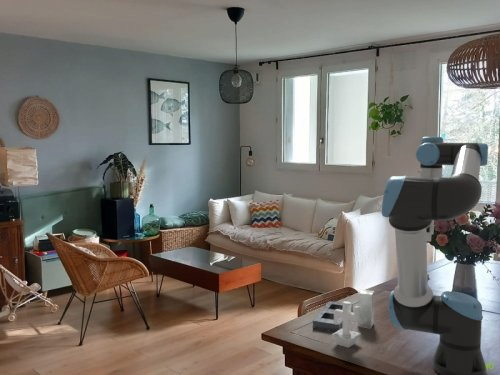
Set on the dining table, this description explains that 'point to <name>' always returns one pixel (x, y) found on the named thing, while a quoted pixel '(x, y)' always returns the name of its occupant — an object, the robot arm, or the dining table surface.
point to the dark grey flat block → (329, 317)
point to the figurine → (346, 325)
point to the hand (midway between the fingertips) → (428, 237)
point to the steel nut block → (366, 308)
